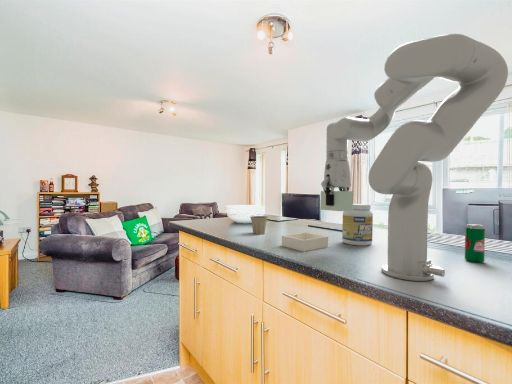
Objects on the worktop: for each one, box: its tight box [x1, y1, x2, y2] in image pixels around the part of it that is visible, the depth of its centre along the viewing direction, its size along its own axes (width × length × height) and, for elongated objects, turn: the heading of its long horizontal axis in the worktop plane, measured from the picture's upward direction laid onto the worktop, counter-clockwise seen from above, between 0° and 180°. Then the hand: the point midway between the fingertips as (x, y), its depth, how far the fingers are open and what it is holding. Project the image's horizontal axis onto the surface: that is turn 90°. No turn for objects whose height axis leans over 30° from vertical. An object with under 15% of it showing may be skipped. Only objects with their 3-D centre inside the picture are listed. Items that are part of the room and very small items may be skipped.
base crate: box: [281, 231, 329, 252], centre depth 109 cm, size 12×14×4 cm
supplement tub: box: [342, 203, 374, 247], centre depth 115 cm, size 12×12×17 cm
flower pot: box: [249, 215, 269, 235], centre depth 139 cm, size 9×9×9 cm
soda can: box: [464, 223, 486, 264], centre depth 87 cm, size 5×5×12 cm
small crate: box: [320, 190, 354, 212], centre depth 98 cm, size 9×7×7 cm
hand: (336, 204), depth 99 cm, fingers closed on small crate, 7 cm apart
